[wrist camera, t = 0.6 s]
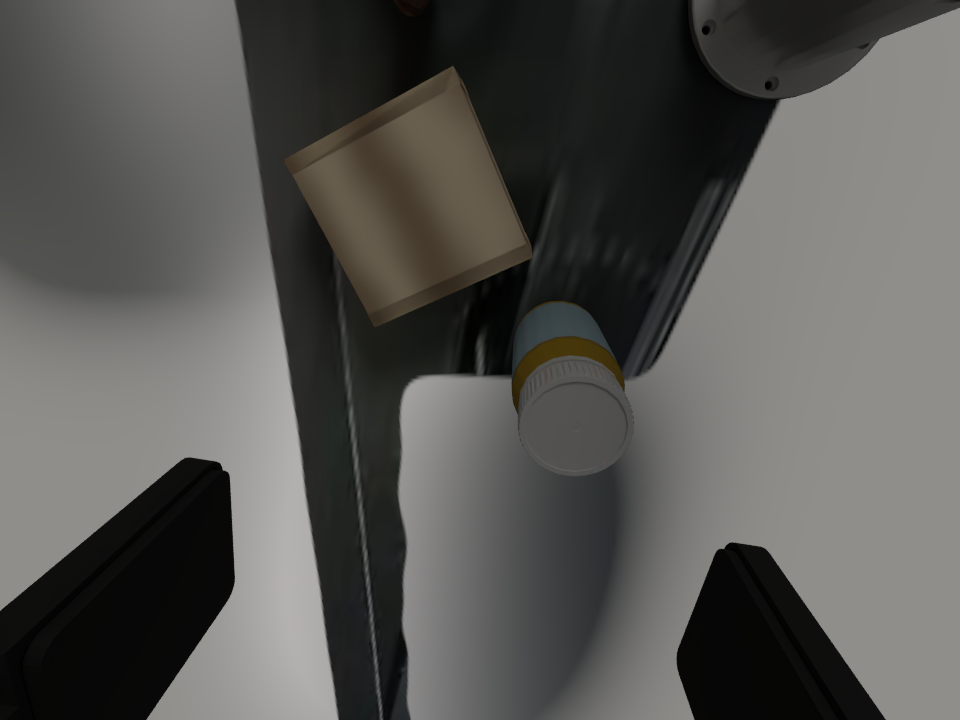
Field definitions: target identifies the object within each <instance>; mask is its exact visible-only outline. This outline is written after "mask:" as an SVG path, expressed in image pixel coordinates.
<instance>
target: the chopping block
mask: <svg viewBox="0 0 960 720" xmlns="http://www.w3.org/2000/svg"><path fill="white" fill-rule="evenodd" d="M284 162H285V164H286V166H287V168H288V170H289V171H290V173H291V175H293V177H294V179H295V181H296V183H297V185H298V186H299V188H300V190H301V192H302V194H303V196H304V197H305V199H306V201H307V203H308V205H309V207H310V208H311V210H312V212H313V214H314V216H315V218H316V219H317V221H318V223H319V225H320V227H321V229H322V230H323V232H324V234H325V236H326V238H327V240H328V241H329V243H330V245H331V247H332V249H333V251H334V252H335V254H336V256H337V258H338V260H339V262H340V263H341V265H342V267H343V269H344V271H345V273H346V274H347V276H348V278H349V280H350V282H351V284H352V286H353V287H354V289H355V291H356V293H357V295H358V297H359V298H360V300H361V302H362V304H363V306H364V308H365V309H366V311H367V313H368V316H369V318H370V320H371V322H372V324H373V325H374V327H377V326H379V325H381V324H383V323H386V322H388V321H390V320H392V319H395V318H397V317H399V316H401V315H404V314H406V313H408V312H411V311H413V310H415V309H417V308H420V307H422V306H424V305H426V304H429V303H431V302H433V301H435V300H438V299H440V298H442V297H444V296H447V295H449V294H451V293H453V292H456V291H458V290H460V289H463V288H465V287H467V286H469V285H472V284H474V283H476V282H478V281H481V280H483V279H485V278H487V277H490V276H492V275H494V274H496V273H499V272H501V271H503V270H505V269H508V268H510V267H512V266H515V265H517V264H519V263H521V262H524V261H526V260H528V259H530V258H533V255H532V249H531V244H530V242H529V240H528V237H527V235H526V233H525V232H524V229H523V227H522V225H521V222H520V220H519V217H518V215H517V212H516V210H515V208H514V205H513V203H512V200H511V198H510V196H509V193H508V191H507V188H506V186H505V184H504V181H503V179H502V176H501V174H500V171H499V169H498V167H497V164H496V162H495V159H494V157H493V155H492V152H491V150H490V147H489V145H488V143H487V140H486V138H485V135H484V133H483V130H482V128H481V126H480V123H479V121H478V118H477V116H476V114H475V111H474V109H473V106H472V104H471V102H470V97H469V95H468V92H467V90H466V88H465V85H464V83H463V82H462V80H461V78H460V77H459V75H458V73H457V72H456V70H455V68H454V67H453V66H452V67H450V68H449V69H447V70H445V71H443V72H441V73H440V74H438V75H436V76H434V77H432V78H431V79H429V80H427V81H425V82H423V83H422V84H420V85H418V86H416V87H414V88H413V89H411V90H409V91H407V92H405V93H404V94H402V95H400V96H398V97H396V98H395V99H393V100H391V101H389V102H387V103H386V104H384V105H382V106H380V107H378V108H377V109H375V110H373V111H371V112H369V113H367V114H366V115H364V116H362V117H360V118H358V119H357V120H355V121H353V122H351V123H349V124H348V125H346V126H344V127H342V128H340V129H339V130H337V131H335V132H333V133H331V134H330V135H328V136H326V137H324V138H322V139H321V140H319V141H317V142H315V143H313V144H312V145H310V146H308V147H306V148H304V149H303V150H301V151H299V152H297V153H295V154H294V155H292V156H290V157H288V158H286V159H285V160H284Z"/></svg>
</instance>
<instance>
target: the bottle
mask: <svg viewBox="0 0 960 720" xmlns="http://www.w3.org/2000/svg"><path fill="white" fill-rule="evenodd" d="M624 387H625V384H624V379H623V376H622V373H621V370H620V367H619V364H618V363H617V361H616V359H615V357H614V355H613V353H612V351H611V349H610V347H609V345H608V344H607V342H606V340H605V338H604V336H603V334H602V332H601V330H600V328H599V326H598V325H597V323H596V321H595V320H594V319H593V318H592V316H591V315H590V314H589V313H588V312H587V311H586V310H585V309H583V308H582V307H580V306H578V305H576V304H574V303H570V302H566V301H550V302H546V303H543V304H541V305H538V306H536V307H534V308H533V309H532V310H530V311H529V312H528V313H526V314H525V316H524V317H523V318H522V320H521V321H520V323H519V324H518V326H517V329H516V332H515V336H514V341H513V364H512V397H513V403H514V406H515V409H516V411H517V413H518V430H519V436H520V440H521V442H522V445H523V446H524V448H525V450H526V452H527V453H528V455H529V456H530V457H531V458H532V459H533V460H534V461H535V462H536V463H537V464H539V465H540V466H542V467H543V468H545V469H547V470H549V471H551V472H554V473H557V474H560V475H565V476H584V475H589V474H593V473H596V472H599V471H601V470H604V469H605V468H607V467H609V466H610V465H612V464H613V463H614V462H616V461H617V460H618V459H619V458H620V457H621V456H622V455H623V453H624V452H625V451H626V449H627V447H628V445H629V443H630V441H631V438H632V434H633V424H634V421H633V415H632V409H631V406H630V404H629V402H628V400H627V398H626V395H625V393H624Z"/></svg>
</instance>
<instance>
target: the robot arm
mask: <svg viewBox="0 0 960 720" xmlns="http://www.w3.org/2000/svg"><path fill="white" fill-rule="evenodd" d="M957 8H960V0H688V20H689V27H690V31H691V36H692V40H693V44H694V46H695V48H696V51H697V53H698V55H699V58H700V60H701V61H702V63H703V64H704V66H705V67H706V68H707V70H708V71H709V72H710V74H711V75H712V76H713V77H714V78H715V79H716V80H718V81H719V82H720V83H721V84H722V85H723V86H724V87H726V88H728V89H730V90H732V91H734V92H736V93H738V94H739V95H743V96H746V97H750V98H754V99H761V100H779V99H785V98H791V97H796V96H799V95H802V94H806V93H809V92H812V91H814V90H816V89H819V88H821V87H823V86H825V85H827V84H829V83H831V82H833V81H834V80H836V79H837V78H838V77H840V76H842V75H843V74H845V73H846V72H848V71H849V70H850V69H851V68H852V67H854V66H855V65H856V64H857V63H858V62H859V61H860V60H861V59H862V58H863V57H864V56H865V55H866V54H867V53H868V52H869V51H870V50H871V49H872V47H873V46H874V45H875V44H876V43H877V41H878V40H879V39H880V38H882V37H884V36H887V35H890V34H893V33H895V32H898V31H900V30H903V29H905V28H908V27H911V26H913V25H916V24H918V23H921V22H924V21H926V20H928V19H931V18H934V17H937V16H939V15H942V14H944V13H947V12H950V11H952V10H955V9H957ZM703 27H705V28H707V30H708V33H707V35H704V34H703V33H702V28H703ZM765 82H767V83H768V84H769V88H768V89H767V90H766V89H765ZM234 582H235V573H234V553H233V532H232V512H231V492H230V476H229V474H228V472H226V471H223V470H222V466H221V464H220V463H218V462H215V461H209V460H202V459H196V458H184V459H183V460H181V461H180V462H179V463H177V464H176V465H175V466H174V467H173V468H171V469H170V470H169V471H168V472H167V473H165V474H164V475H163V476H162V477H161V478H159V479H158V480H157V481H156V482H155V483H153V484H152V485H151V486H150V487H149V488H147V489H146V490H145V491H144V492H143V493H141V494H140V495H139V496H138V497H137V498H135V499H134V500H133V501H132V502H131V503H129V504H128V505H127V506H126V507H125V508H123V509H122V510H121V511H120V512H119V513H118V514H116V515H115V516H114V517H112V518H111V519H110V520H109V521H108V522H106V523H105V524H104V525H103V526H102V527H101V528H99V529H98V530H97V531H96V532H94V533H93V534H92V535H91V536H90V537H89V538H87V539H86V540H85V541H84V542H82V543H81V544H80V545H79V546H78V547H76V548H75V549H74V550H73V551H72V552H71V553H69V554H68V555H67V556H66V557H64V558H63V559H62V560H61V561H60V562H58V563H57V564H56V565H55V566H54V567H52V568H51V569H50V570H49V571H48V572H46V573H45V574H44V575H43V576H42V577H41V578H39V579H38V580H37V581H36V582H34V583H33V584H32V585H31V586H30V587H28V588H27V589H26V590H25V591H24V592H22V593H21V594H20V595H19V596H18V597H17V598H15V599H14V600H13V601H11V602H10V603H9V604H8V605H7V606H5V607H4V608H3V609H2V610H1V611H0V720H146V719H147V718H148V716H149V715H150V713H151V712H152V711H153V709H154V708H155V706H156V704H157V703H158V702H159V700H160V699H161V697H162V696H163V694H164V693H165V691H166V690H167V688H168V687H169V686H170V684H171V683H172V681H173V680H174V678H175V677H176V675H177V674H178V673H179V671H180V669H181V668H182V667H183V665H184V664H185V662H186V661H187V659H188V658H189V656H190V655H191V654H192V652H193V651H194V649H195V648H196V646H197V645H198V643H199V642H200V640H201V639H202V637H203V636H204V635H205V633H206V632H207V630H208V628H209V627H210V626H211V624H212V623H213V621H214V620H215V619H216V617H217V616H218V614H219V613H220V611H221V610H222V608H223V607H224V605H225V604H226V602H227V601H228V599H229V597H230V595H231V593H232V590H233V587H234ZM677 668H678V672H679V676H680V679H681V681H682V684H683V687H684V690H685V693H686V696H687V699H688V702H689V705H690V708H691V711H692V714H693V716H694V719H695V720H886V719H885V718H884V717H883V715H882V714H881V712H880V711H879V709H878V708H877V707H876V705H875V704H874V702H873V701H872V699H871V698H870V697H869V695H868V694H867V692H866V691H865V689H864V688H863V687H862V685H861V684H860V682H859V681H858V679H857V678H856V677H855V675H854V674H853V672H852V671H851V669H850V668H849V666H848V665H847V664H846V662H845V661H844V660H843V658H842V656H841V655H840V653H839V652H838V651H837V649H836V648H835V646H834V645H833V643H832V642H831V641H830V639H829V638H828V636H827V635H826V633H825V632H824V631H823V629H822V628H821V626H820V625H819V623H818V622H817V621H816V619H815V618H814V616H813V615H812V613H811V612H810V611H809V609H808V608H807V606H806V605H805V603H804V602H803V601H802V599H801V598H800V596H799V595H798V593H797V592H796V591H795V589H794V588H793V586H792V585H791V583H790V582H789V581H788V579H787V578H786V576H785V575H784V573H783V572H782V571H781V569H780V568H779V566H778V565H777V563H776V562H775V561H774V559H773V558H772V556H771V555H770V553H769V552H768V551H767V550H766V549H764V548H763V547H759V546H752V545H746V544H739V543H729V544H728V545H726V547H725V549H719V550H717V552H716V553H715V556H714V558H713V561H712V563H711V566H710V568H709V571H708V573H707V576H706V579H705V581H704V584H703V586H702V589H701V591H700V595H699V597H698V599H697V602H696V604H695V607H694V610H693V612H692V615H691V617H690V620H689V622H688V625H687V627H686V630H685V633H684V636H683V638H682V640H681V643H680V645H679V648H678V652H677Z"/></svg>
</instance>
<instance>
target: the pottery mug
mask: <svg viewBox="0 0 960 720" xmlns="http://www.w3.org/2000/svg"><path fill="white" fill-rule="evenodd" d="M393 1H394V2H395V4H396V6H397V7H398V9H399V11H400V12H401V13H403V14H405V15H407V16H408V17H413V16H418V15H420V14H421V13H422V12H423V11H424V9H425V8H426V7H427V5H428V3H429V1H430V0H393Z"/></svg>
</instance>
